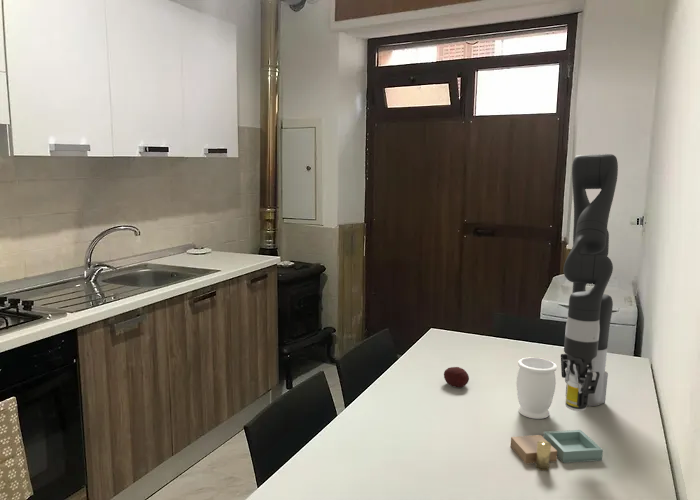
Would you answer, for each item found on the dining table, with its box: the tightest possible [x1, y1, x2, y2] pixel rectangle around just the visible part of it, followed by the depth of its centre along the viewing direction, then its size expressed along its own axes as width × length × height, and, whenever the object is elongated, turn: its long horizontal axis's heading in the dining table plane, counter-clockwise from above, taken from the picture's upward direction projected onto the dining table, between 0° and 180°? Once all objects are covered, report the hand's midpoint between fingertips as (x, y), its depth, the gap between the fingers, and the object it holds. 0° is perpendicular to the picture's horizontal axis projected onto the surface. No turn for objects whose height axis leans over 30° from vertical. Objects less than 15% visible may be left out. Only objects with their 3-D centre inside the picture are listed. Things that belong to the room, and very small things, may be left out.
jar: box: [516, 356, 558, 420], centre depth 157 cm, size 11×10×15 cm
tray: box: [543, 429, 604, 463], centre depth 137 cm, size 10×10×3 cm
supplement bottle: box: [565, 373, 587, 412], centre depth 135 cm, size 5×5×8 cm
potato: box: [443, 366, 470, 389], centre depth 176 cm, size 7×8×6 cm
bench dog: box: [535, 441, 551, 472], centre depth 129 cm, size 3×3×6 cm
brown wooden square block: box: [510, 434, 558, 464], centre depth 136 cm, size 8×8×3 cm
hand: (575, 401), depth 135 cm, fingers closed on supplement bottle, 4 cm apart
